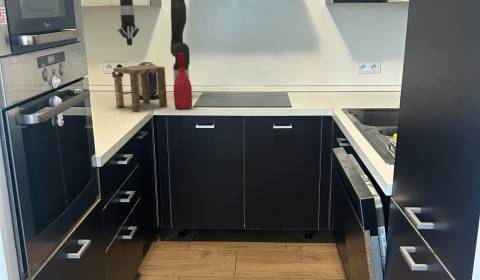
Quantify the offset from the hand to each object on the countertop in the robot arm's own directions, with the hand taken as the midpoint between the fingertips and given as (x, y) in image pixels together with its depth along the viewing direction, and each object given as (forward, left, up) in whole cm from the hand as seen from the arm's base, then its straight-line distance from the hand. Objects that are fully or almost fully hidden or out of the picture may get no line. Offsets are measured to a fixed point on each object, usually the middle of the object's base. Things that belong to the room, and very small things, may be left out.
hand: (129, 45), depth 276 cm
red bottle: (-8, +38, -33) cm, 51 cm away
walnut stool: (+6, +18, -33) cm, 38 cm away
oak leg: (+14, +9, -33) cm, 37 cm away
